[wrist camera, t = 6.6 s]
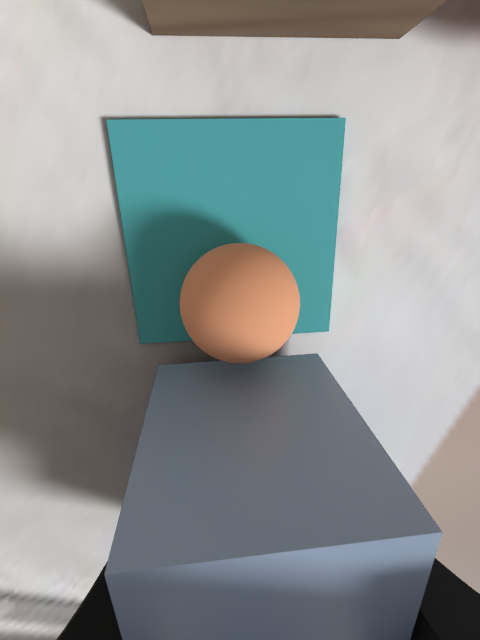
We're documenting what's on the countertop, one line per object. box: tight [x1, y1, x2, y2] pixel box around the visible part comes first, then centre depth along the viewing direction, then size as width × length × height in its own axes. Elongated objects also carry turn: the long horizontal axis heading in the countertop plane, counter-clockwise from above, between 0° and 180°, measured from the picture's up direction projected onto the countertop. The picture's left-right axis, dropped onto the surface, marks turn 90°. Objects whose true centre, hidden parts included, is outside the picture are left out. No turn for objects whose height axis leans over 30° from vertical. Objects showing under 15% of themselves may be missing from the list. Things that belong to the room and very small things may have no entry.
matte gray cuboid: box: [104, 354, 442, 640], centre depth 10 cm, size 9×6×7 cm, turn 1°
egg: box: [180, 243, 300, 363], centre depth 10 cm, size 4×4×4 cm
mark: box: [106, 118, 346, 344], centre depth 11 cm, size 7×7×1 cm
